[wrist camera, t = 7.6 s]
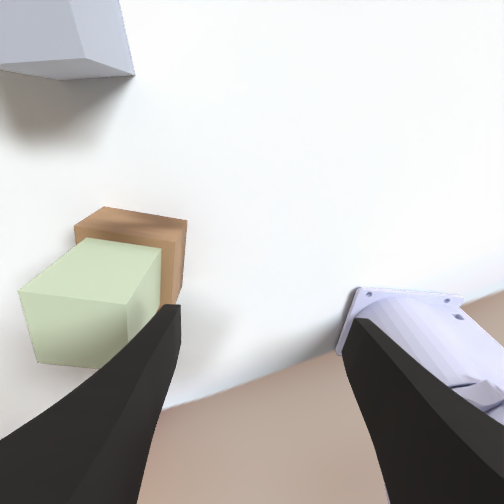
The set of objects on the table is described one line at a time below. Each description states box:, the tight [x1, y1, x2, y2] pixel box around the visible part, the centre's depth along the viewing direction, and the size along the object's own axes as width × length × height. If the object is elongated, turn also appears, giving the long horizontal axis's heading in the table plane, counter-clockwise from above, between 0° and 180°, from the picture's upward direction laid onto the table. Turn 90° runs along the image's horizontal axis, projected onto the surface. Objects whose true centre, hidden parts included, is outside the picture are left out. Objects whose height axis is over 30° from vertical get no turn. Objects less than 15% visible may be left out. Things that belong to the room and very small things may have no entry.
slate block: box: [0, 0, 135, 80], centre depth 12 cm, size 4×4×6 cm
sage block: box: [18, 237, 161, 369], centre depth 15 cm, size 4×4×6 cm
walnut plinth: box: [74, 207, 187, 313], centre depth 19 cm, size 6×6×4 cm
